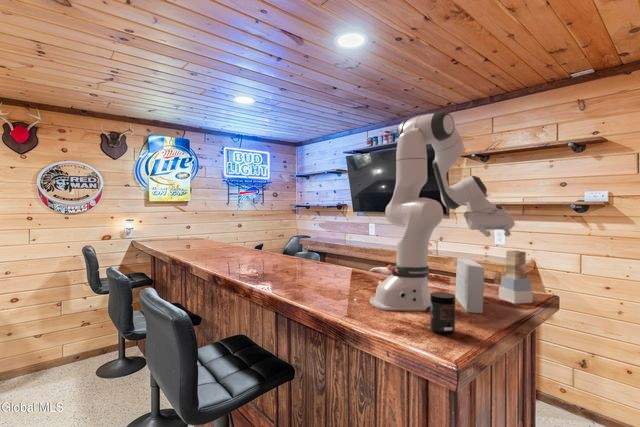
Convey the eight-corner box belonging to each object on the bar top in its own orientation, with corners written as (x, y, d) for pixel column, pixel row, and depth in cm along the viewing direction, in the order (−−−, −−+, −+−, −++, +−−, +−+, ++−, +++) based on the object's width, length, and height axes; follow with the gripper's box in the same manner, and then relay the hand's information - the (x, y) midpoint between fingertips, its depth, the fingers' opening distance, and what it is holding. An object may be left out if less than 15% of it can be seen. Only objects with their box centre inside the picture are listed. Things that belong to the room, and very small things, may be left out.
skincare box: (484, 314, 112) (485, 266, 111) (467, 313, 113) (467, 266, 113) (469, 298, 132) (470, 257, 132) (455, 297, 133) (455, 257, 133)
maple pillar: (514, 278, 127) (515, 252, 127) (506, 276, 131) (506, 250, 131) (525, 278, 127) (525, 252, 127) (516, 275, 132) (516, 250, 132)
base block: (514, 304, 124) (514, 292, 124) (498, 298, 132) (498, 287, 132) (532, 302, 126) (532, 291, 126) (516, 297, 134) (516, 286, 134)
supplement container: (445, 326, 100) (445, 291, 100) (460, 334, 93) (460, 297, 93) (425, 328, 98) (425, 292, 98) (439, 336, 91) (439, 298, 91)
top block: (513, 291, 125) (513, 279, 125) (501, 287, 132) (501, 275, 132) (530, 291, 126) (530, 279, 126) (517, 286, 133) (517, 275, 133)
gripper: (465, 206, 144) (479, 230, 134) (507, 207, 147) (524, 230, 138) (458, 216, 148) (472, 240, 139) (499, 216, 152) (515, 240, 142)
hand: (498, 235), depth 138 cm, fingers open, 8 cm apart
